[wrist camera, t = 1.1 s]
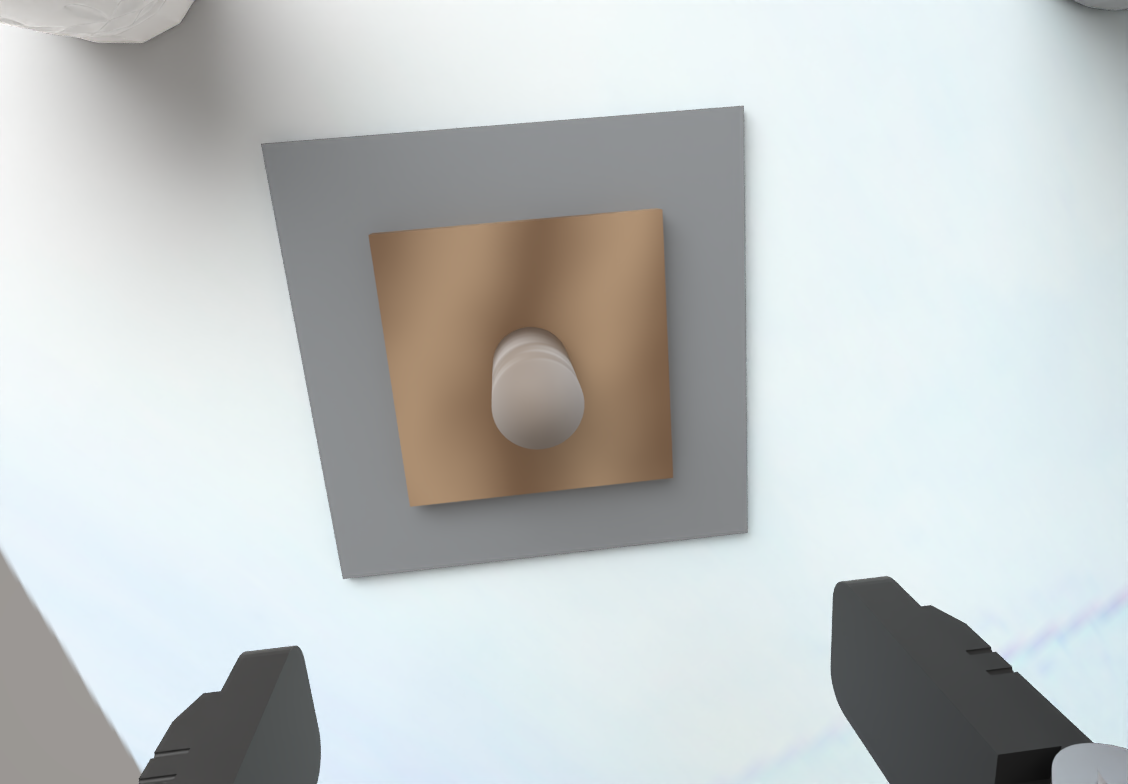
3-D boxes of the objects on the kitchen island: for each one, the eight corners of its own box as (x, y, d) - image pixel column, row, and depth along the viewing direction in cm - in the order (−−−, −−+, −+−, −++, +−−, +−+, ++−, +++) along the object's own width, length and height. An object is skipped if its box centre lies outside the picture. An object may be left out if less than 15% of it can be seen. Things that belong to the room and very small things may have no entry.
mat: (739, 107, 28) (743, 105, 28) (744, 527, 33) (747, 532, 33) (265, 144, 27) (261, 143, 27) (345, 573, 32) (343, 578, 32)
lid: (656, 208, 29) (701, 216, 22) (668, 468, 32) (709, 539, 26) (372, 233, 28) (337, 249, 22) (412, 496, 31) (391, 576, 25)
